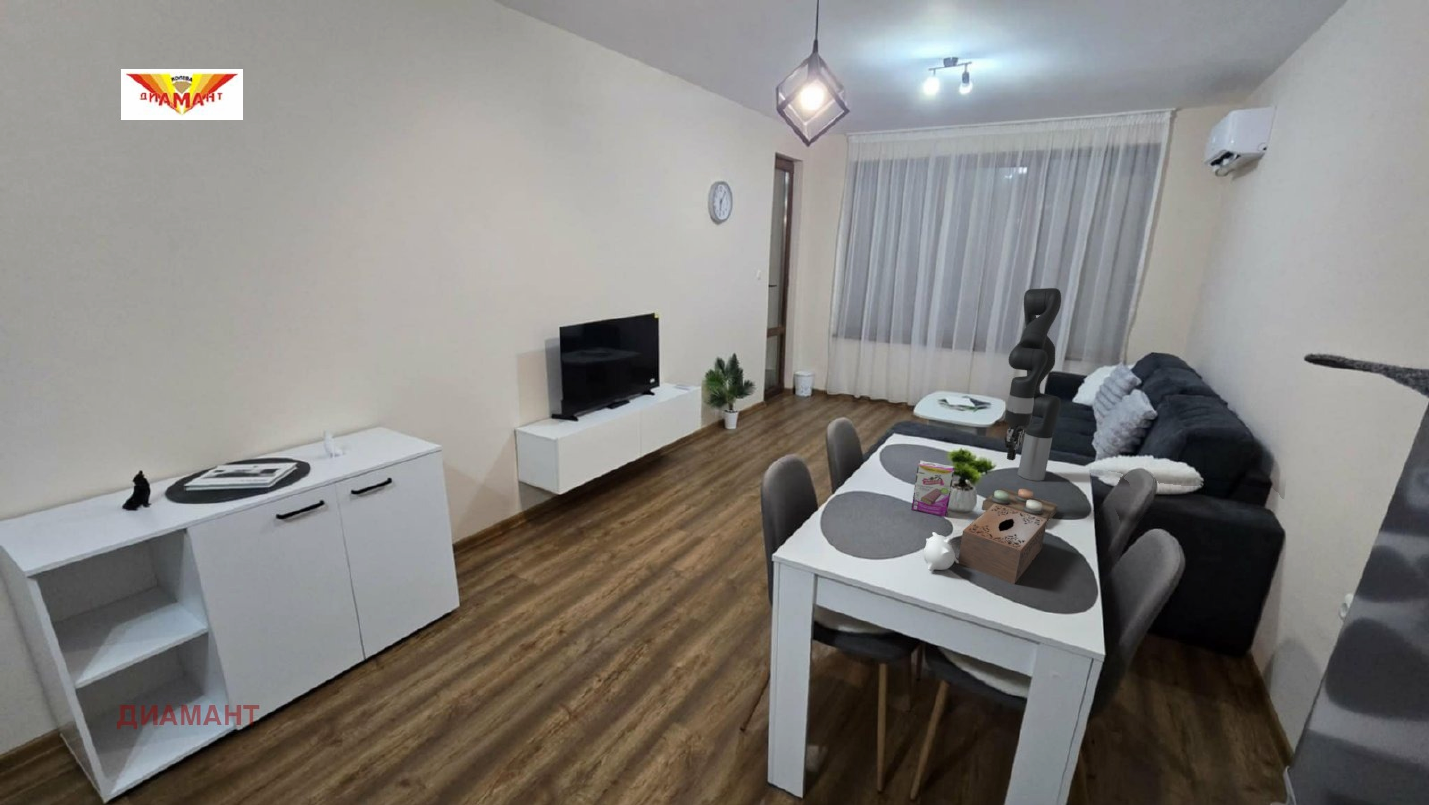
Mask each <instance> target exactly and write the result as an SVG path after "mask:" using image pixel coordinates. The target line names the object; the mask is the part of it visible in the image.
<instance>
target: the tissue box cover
mask: <svg viewBox="0 0 1429 805" xmlns="http://www.w3.org/2000/svg"><path fill="white" fill-rule="evenodd" d="M1047 524H1048V521H1047V519H1045V518H1042V517H1038V516H1035V515H1032V514H1028V513H1025V512H1022V511H1018V510H1015V509H1012V508H1008V507H1005V506H1002V505H999V504H995V503H994V504H993V505H992V506H991V507H990V508H989V509H987V510H984V511H983V513H981V514H980V515H979V516H978V517H976V519H974V521H972V522H971V523H970V524H969V525H967V527H965V528H964V529H963V530H962V535H961V540H960V541H961V542H960V546H959V547H960V548H959V552H958V559H957V560H958V561H959V563H958V564H960V565H962V566H966V567H968V568H971V569H973V570H977V571H979V572H982V573H983V574H985V575H986V574H987V575H990V576H991V577H995V578H998V579H999V580H1003V581H1005V582H1007V583H1010V584H1011V585H1015V584H1016V582H1017V581H1018V580H1019V579H1020V577H1021V576H1022V575H1023V574H1024V572H1025V571H1026V570H1027V568H1029V567H1030V565H1031V564H1032V562H1033V561H1034V559H1036V558H1037V556H1038V555H1039V553H1040V552H1041V550H1042V548H1043V544H1044V538H1045V534H1046V528H1047ZM1037 554H1038V555H1037ZM1036 555H1037V556H1036ZM1032 560H1033V561H1032Z"/></svg>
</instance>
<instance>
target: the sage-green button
mask: <svg viewBox="0 0 1429 805" xmlns="http://www.w3.org/2000/svg"><path fill="white" fill-rule="evenodd" d="M993 494H994V498H995V499H997V500H1000V501H1008V499H1009V493H1008V492H1005V491H1001V490H1000V489H997V490H995V491H994V493H993Z"/></svg>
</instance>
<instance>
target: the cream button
mask: <svg viewBox="0 0 1429 805" xmlns="http://www.w3.org/2000/svg"><path fill="white" fill-rule="evenodd" d="M1026 508H1027V509H1029V510H1032V511H1041V508H1042V503H1041V502H1039V501H1036V500H1027V502H1026Z"/></svg>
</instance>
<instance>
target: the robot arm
mask: <svg viewBox="0 0 1429 805" xmlns="http://www.w3.org/2000/svg"><path fill="white" fill-rule="evenodd" d="M1061 304H1062V293H1061V291H1060V289H1059V288H1056V287H1055V288H1054V287H1046V288H1030V289H1027V290H1026V291H1025V293H1024V296H1023V312H1024V324H1025V328H1024V329H1023V332H1022V334H1021V337H1020V341H1019V342H1018V343H1017V344H1016V345H1015V346H1014V347H1013V349H1012V350H1011V351H1010V354H1009V356H1008V364H1009V366H1010V367H1011V368H1012V369H1014V370H1020V371H1026V375H1025V376H1023V375H1022V376H1016V377H1015V376H1014V377H1013V378H1012V380H1011V383H1010V390H1009V396H1008V399H1007V402H1006V409H1005V415H1004V422H1005V423H1006V424H1009V427H1008V428H1007V430H1006V434H1007V435H1004V437H1003V439H1004V444H1005V448H1006V449H1007V456H1006V459H1007V460H1009V461H1014V460H1015V459H1016V457H1017V451H1018V449H1019V447H1020V446H1021V445H1022V447H1021V448H1022V449H1021V453H1020V454H1021V455H1020V459H1019V465H1018V471H1017V475H1018V476H1019V477H1021V478H1023V479H1025V480H1029V481H1037V482H1038V481H1044V480H1045V477H1046V472H1047V467H1048V461H1049V457H1050V452H1051V447H1052V443H1053V442H1052V441H1053V436H1054V432H1055V430H1056V426H1057V423H1058V418H1059V414H1060V411H1061V406H1062V404H1061V403H1062V402H1061V398H1060V397H1059V396H1055V395H1052V394H1049V393H1048V394H1047V393H1042V392H1041V384H1042V382H1043V381H1044V379H1045V378H1046V377H1047V376H1048V375H1049V374H1050V373H1051V371H1053V369H1054V367H1055V365H1056V347H1055V346H1056V345H1055V344H1054V342H1053V341H1052V340H1051V338H1050V336H1048V333H1049V331H1050V329H1051V327H1052V325H1053V323H1054V321H1055V320H1056V318H1057V316H1058V314H1059V311H1060V309H1061ZM1032 417H1036V418H1040V419H1042V421H1041V423H1034V424H1032V423H1031V422H1032ZM1024 427H1026V428H1025V429H1024ZM1022 441H1023V443H1022Z"/></svg>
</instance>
